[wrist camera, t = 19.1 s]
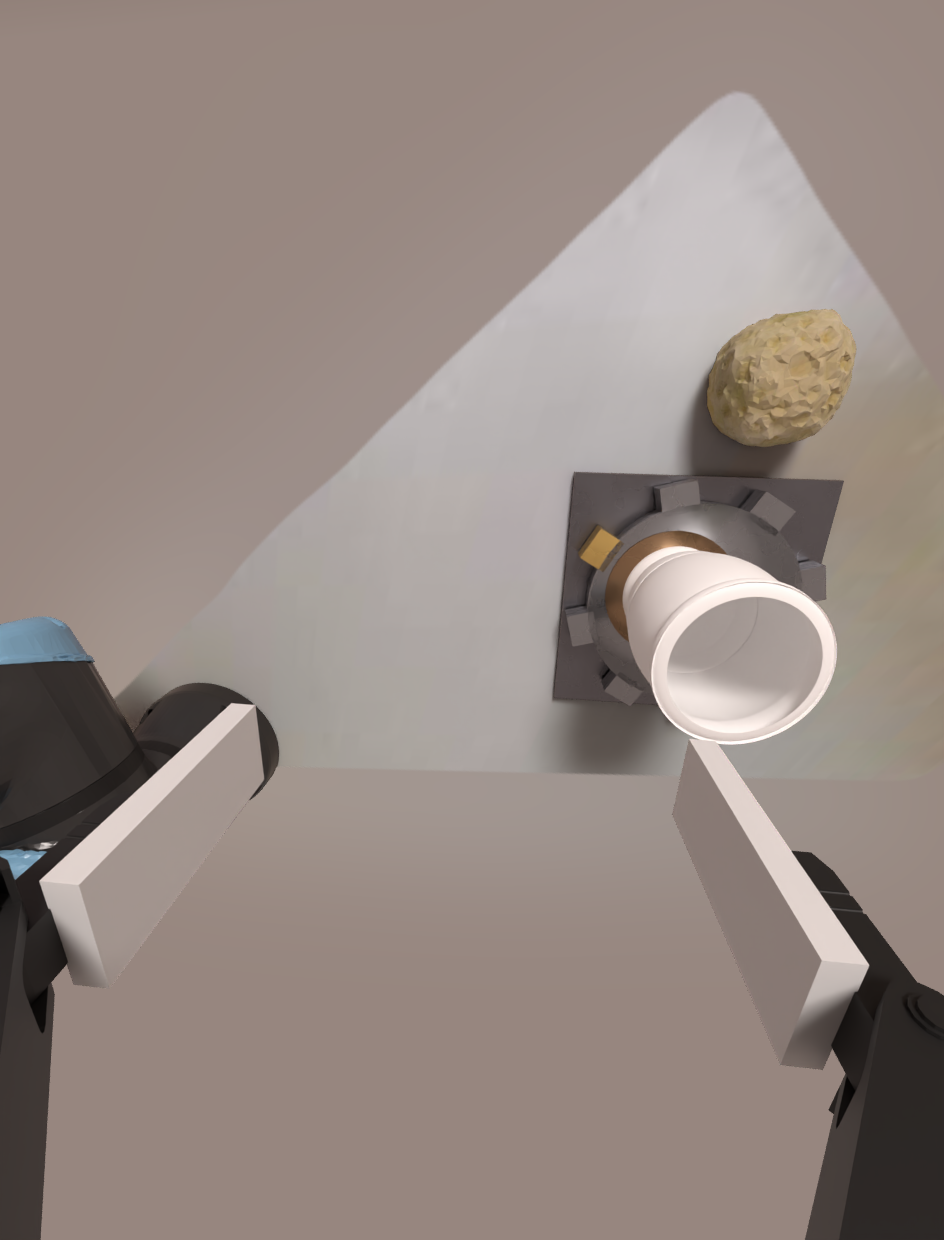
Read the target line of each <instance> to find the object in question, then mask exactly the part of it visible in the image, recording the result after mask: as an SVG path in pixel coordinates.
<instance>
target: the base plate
mask: <svg viewBox="0 0 944 1240" xmlns="http://www.w3.org/2000/svg"><path fill="white" fill-rule="evenodd" d="M686 479H694V480H698V485H699V495H700V501H707V502H717V503H721V504H726V505H730V506H733V507H737V508H741V507H742V505H743V504H744V503H745V502H746V500H747V499H748V498H749V497H750V496H751V494H752V493H753V492H754V491H755V489H757V490H762V491H767V492H768V493H770V494H771V495H773V496H774V497H776V498H777V499H778V500H780V501H781V502H783V503H784V504H786V505H787V506H789V507H790V508H792V509H793V510H795V511H796V512H795V513H794V514H793V516H792V517H791V518H790V519H789V520H788V521H787V523H786V524H785V525H784V526H783V527H782V529H781V530H780V531H779V533H780V534H781V535H782V536H783V537H784V538H785V539H786V541H787V542H788V544H789V545H790V547H791V548H792V550H793V552H794V554H795V556H796V559H797V561H798V563H801V562H806V561H811V560H813V561H815V562H818V563H820V564H821V563H822V559H823V556H824V552H825V548H826V545H827V541H828V537H829V534H830V530H831V526H832V523H833V519H834V515H835V512H836V508H837V504H838V501H839V497H840V493H841V490H842V486H843V482H844V481H840V480H815V479H783V478H751V477H720V476H688V475H656V474H624V473H592V472H574V481H573V492H572V503H571V514H570V525H569V535H568V546H567V557H566V568H565V579H564V590H563V601H562V612H561V622H560V633H559V644H558V655H557V666H556V677H555V688H554V698H565V699H580V700H595V701H610V702H622V701H620V700H619V699H617V698H615V697H614V696H612V695H610V694H609V693H607V692H605V691H604V689H603V686H602V683H601V681H602V679H603V678H604V677H605V676H606V674H607V673H608V672H609V671H610V668H609V667H608V666H607V665H606V664H605V662H604V661H603V660H602V658H601V656H600V655H599V653H598V651H597V649H596V647H595V645H594V643H589V644H584V645H578V646H572V642H571V638H570V633H569V628H568V623H567V618H566V613H565V610H566V609H571V608H576V607H581V606H586V593H587V587H588V583H589V580H590V577H591V573H592V571H593V569H594V566H592V565H591V564H589V563H587V562H586V561H584V560H583V559H581V558H580V556H579V554H578V552H579V551H580V549H581V548H582V547H583V545H584V544H585V542H586V541H587V539H588V538H589V537H590V535H591V534H592V532H593V531H594V529H595V528H596V527H597V525H599V526H600V527H602V528H603V529H605V530H607V531H608V532H610V533H611V534H613V535H614V536H617V535H618V534H619V533H620V532H621V531H622V530H623V529H624V528H626V527H627V526H628V525H630V524H631V523H632V522H634V521H635V520H637V519H639V518H640V517H642V516H644V515H646V514H648V513H650V512H652V511H655V510H656V502H655V494H654V487H656V486H661V485H665V484H669V483H674V482H678V481H682V480H686ZM633 703H639V704H654V705H658V703H657V701H656V699H655V696H654V695H651V694H649V693H646V692H642V693H641V694H640V695H639V697H638V698H637V699H636V700H635V701H634V702H633Z"/></svg>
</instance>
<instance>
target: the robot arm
mask: <svg viewBox="0 0 944 1240" xmlns="http://www.w3.org/2000/svg"><path fill="white" fill-rule="evenodd" d="M93 662H95V661H94V659H93V658H92V657H91V656H89V655H87V654H86V652H85V651H84V649H83V647H82V646H81V644H80V643H79V641H78V640H77V638H76V637H75V635H74V634H73V632H72V631H71V629H70V628H69V627H68V626H67V625H66V624H65V623H63V622H62V621H60V620H58V619H55V618H51V617H33V618H28V619H23V620H18V621H13V622H9V623H4V624H0V1240H40V1238H41V1220H42V1203H43V1186H44V1169H45V1151H46V1134H47V1116H48V1098H49V1082H50V1063H51V1047H52V1029H53V1012H54V995H55V994H54V990H53V987H52V983H51V982H52V981H53V980H54V978H55V977H56V976H57V975H58V974H59V973H60V971H61V970H62V969H63V968H64V967H65V966H66V964H67V966H68V969H69V972H70V975H71V978H72V981H73V984H74V985H82V986H91V987H100V988H110V987H111V986H112V985H113V983H114V982H115V980H116V979H117V978H118V977H119V975H120V974H121V973H122V971H123V970H124V968H125V967H126V966H127V964H128V963H129V961H130V960H131V959H132V958H133V956H134V955H135V954H136V952H137V951H138V949H139V948H140V947H141V945H142V944H143V943H144V941H145V940H146V939H147V937H148V936H149V935H150V933H151V932H152V931H153V929H154V928H155V926H156V925H157V924H158V922H159V921H160V920H161V918H162V917H163V916H164V914H165V913H166V912H167V910H168V909H169V907H170V906H171V905H172V903H173V902H174V901H175V899H176V898H177V897H178V895H179V894H180V892H181V891H182V890H183V888H184V887H185V886H186V885H187V883H188V882H189V880H190V879H191V878H192V876H193V875H194V874H195V872H196V871H197V870H198V868H199V867H200V866H201V864H202V863H203V861H204V860H205V859H206V857H207V856H208V855H209V853H210V852H211V851H212V849H213V848H214V847H215V845H216V844H217V843H218V841H219V840H220V838H221V837H222V836H223V834H224V833H225V832H226V830H227V829H228V828H229V826H230V825H231V824H232V822H233V821H234V820H235V818H236V817H237V815H238V814H239V813H240V811H241V810H242V809H243V807H244V806H245V805H246V803H247V802H248V801H249V800H251V799H252V798H253V797H255V796H256V795H257V794H258V793H259V792H260V791H261V790H262V789H263V787H264V786H265V785H266V783H267V782H268V780H269V779H270V778H271V777H272V775H273V773H274V771H275V769H276V766H277V763H278V755H279V751H278V743H277V739H276V736H275V733H274V731H273V729H272V727H271V725H270V723H269V721H268V720H267V718H266V717H265V716H264V715H263V713H262V712H261V711H260V710H259V709H258V708H257V707H256V706H255V705H254V704H253V703H252V702H250V701H249V700H248V699H246V698H245V697H243V696H242V695H240V694H238V693H236V692H235V691H232V690H230V689H228V688H225V687H222V686H218V685H214V684H208V683H192V684H186V685H182V686H179V687H177V688H175V689H173V690H171V691H170V692H168V693H167V694H165V695H164V696H163V697H161V698H160V699H158V700H157V701H156V702H155V703H154V704H152V705H151V706H150V708H149V709H148V710H147V711H146V713H145V714H144V716H143V718H142V719H141V721H140V724H139V726H138V727H137V728H136V729H135V731H134V732H132V731H131V729H130V727H129V725H128V724H127V722H126V720H125V718H124V717H123V715H122V713H121V711H120V710H119V708H118V706H117V704H116V703H115V701H114V699H113V697H112V696H111V694H110V692H109V690H108V689H107V687H106V685H105V683H104V682H103V680H102V678H101V676H100V675H99V673H98V671H97V669H96V668H95V666H94V664H93ZM672 815H673V817H674V820H675V822H676V825H677V827H678V829H679V832H680V834H681V836H682V838H683V841H684V843H685V845H686V848H687V850H688V852H689V855H690V857H691V859H692V862H693V864H694V866H695V869H696V871H697V873H698V876H699V878H700V880H701V882H702V885H703V887H704V889H705V892H706V894H707V896H708V899H709V901H710V903H711V906H712V908H713V910H714V913H715V915H716V917H717V919H718V922H719V924H720V926H721V929H722V931H723V933H724V936H725V938H726V940H727V943H728V945H729V947H730V949H731V952H732V954H733V956H734V959H735V961H736V964H737V966H738V968H739V970H740V973H741V975H742V977H743V980H744V982H745V984H746V987H747V989H748V991H749V993H750V996H751V998H752V1000H753V1003H754V1005H755V1007H756V1010H757V1012H758V1014H759V1016H760V1019H761V1021H762V1024H763V1026H764V1028H765V1031H766V1033H767V1035H768V1038H769V1040H770V1042H771V1044H772V1047H773V1049H774V1051H775V1054H776V1056H777V1058H778V1061H779V1063H780V1065H786V1066H794V1067H803V1068H812V1069H821V1070H823V1068H824V1066H825V1064H826V1061H827V1059H828V1057H829V1055H830V1052H831V1050H832V1049H833V1050H834V1052H835V1054H836V1056H837V1058H838V1060H839V1062H840V1064H841V1066H842V1067H843V1069H844V1071H845V1073H846V1074H845V1076H844V1078H843V1081H842V1083H841V1085H840V1087H839V1089H838V1091H837V1093H836V1095H835V1097H834V1100H833V1102H832V1104H831V1106H830V1108H829V1111H830V1112H832V1113H833V1114H834V1116H833V1120H832V1125H831V1129H830V1133H829V1138H828V1142H827V1146H826V1151H825V1155H824V1160H823V1164H822V1168H821V1173H820V1177H819V1181H818V1186H817V1190H816V1195H815V1199H814V1203H813V1207H812V1212H811V1216H810V1220H809V1225H808V1229H807V1234H806V1238H805V1240H944V996H943V995H942V994H940V993H939V992H938V991H935V990H933V989H931V988H929V987H927V986H925V985H922V984H920V983H917V981H916V980H915V979H914V978H913V976H912V975H911V974H910V972H909V971H908V970H907V968H906V967H905V966H904V964H903V963H902V962H901V961H900V959H899V958H898V956H897V955H896V954H895V952H894V951H893V950H892V948H891V947H890V946H889V944H888V943H887V942H886V940H885V939H884V938H883V936H882V935H881V934H880V932H879V931H878V930H877V928H876V927H875V926H874V924H873V923H872V922H871V921H870V919H869V918H868V916H867V915H866V914H863V912H862V908H861V907H860V906H859V904H858V903H857V902H856V900H855V899H854V898H853V897H852V896H850V895H849V891H848V890H847V889H846V887H845V886H844V884H843V883H842V882H841V881H840V879H839V878H838V876H837V875H836V874H835V872H834V871H833V870H831V869H830V868H829V867H828V866H826V865H825V864H824V863H823V862H822V861H821V860H819V859H818V858H817V857H816V856H815V855H813V854H812V853H809V852H799V851H791V850H790V849H789V847H788V846H787V844H786V843H785V841H784V840H783V839H782V837H781V836H780V834H779V833H778V831H777V830H776V828H775V827H774V825H773V824H772V822H771V821H770V820H769V818H768V817H767V815H766V814H765V812H764V811H763V809H762V808H761V807H760V805H759V804H758V802H757V801H756V799H755V798H754V796H753V795H752V793H751V792H750V790H749V789H748V787H747V786H746V784H745V783H744V782H743V780H742V779H741V777H740V776H739V774H738V773H737V771H736V770H735V768H734V767H733V765H732V764H731V763H730V761H729V760H728V758H727V757H726V755H725V754H724V752H723V751H722V749H721V748H720V747H719V745H718V744H717V742H716V741H709V740H696V739H689V742H688V746H687V751H686V755H685V760H684V764H683V769H682V773H681V777H680V782H679V786H678V792H677V795H676V801H675V805H674V809H673V813H672Z"/></svg>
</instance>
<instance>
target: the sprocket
mask: <svg viewBox="0 0 944 1240" xmlns="http://www.w3.org/2000/svg"><path fill="white" fill-rule="evenodd" d="M654 494H655V502H656V510H655V511H652V512H650V513H648V514H646V515H644V516H642V517H640V518H639V519H637V520H635V521H634V522H632V523H631V524H630V525H628V526H627V527H626V528H624V529H623V530H622V531H621V532H620V533H619V534H618V535H617V536H614V535H613V534H611V533H610V532H608V531H607V530H605V529H603V528H602V527H600V526H599V525H597V527H596V528H595V529H594V531H593V532H592V534H591V535H590V537H589V538H588V539H587V541H586V542H585V544H584V545H583V547H582V548H581V549H580V551H579V552H578V554H579V556H580V558H581V559H583V560H584V561H586V562H587V563H589V564H591V565H592V566H594V569H593V571H592V573H591V577H590V580H589V583H588V587H587V593H586V606H581V607H576V608H571V609H566V610H565V613H566V618H567V623H568V628H569V633H570V638H571V642H572V646H578V645H584V644H589V643H594V645H595V647H596V649H597V651H598V653H599V655H600V656H601V658H602V660H603V661H604V662H605V664H606V665H607V666H608V667H609V668H610V671H609V672H608V673H607V674H606V676H605V677H604V678H603V679H602V681H601V683H602V686H603V689H604V691H605V692H607V693H609V694H610V695H612V696H614V697H615V698H617V699H619V700H620V701H622V702H624V703H625V704H627V705H629V706H631V705H632V704H633V702H634V701H635V700H636V699H637V698H638V697H639V695H640V694H641V693H642V692H646V693H649V694H651V695H654V694H653V691H652V688H651V685H650V683H649V682H648V681H647V680H646V678H645V677H644V675H643V674H642V672H641V670H640V669H639V667H638V665H637V663H636V661H635V659H634V656H633V653H632V650H631V647H630V643H629V638H628V628H627V621H626V615H625V612H624V608H623V590H624V586H625V583H626V580H627V578H628V576H629V575H630V573H631V571H632V570H633V569H634V567H635V566H636V565H637V564H638V563H639V562H640V561H641V560H642V559H644V558H645V557H646V556H648V555H650V554H651V553H653V552H655V551H658V550H660V549H663V548H668V547H674V546H683V547H690V548H693V549H696V550H699V551H705V552H711V553H719V554H725V555H729V556H733V557H736V558H740V559H742V560H745V561H747V562H749V563H752V564H754V565H756V566H757V567H759V568H761V569H762V570H764V571H766V572H767V573H768V574H770V575H771V576H772V577H774V578H775V579H776V580H777V581H779V582H782V583H785V584H788V585H791V586H793V587H795V588H797V589H798V590H800V591H802V592H803V593H805V594H806V595H807V596H809V597H810V598H811V599H812V600H813V601H820V600H825V599H826V566H825V565H823V564H820V563H818V562H815V561H813V560H811V561H806V562H801V563H798V561H797V559H796V556H795V554H794V552H793V550H792V548H791V547H790V545H789V544H788V542H787V541H786V539H785V538H784V537H783V536H782V535H781V534H780V533H779V531H780V530H781V529H782V527H783V526H784V525H785V524H786V523H787V521H788V520H789V519H790V518H791V517H792V516H793V514H794V513H795V512H796V511H795V510H793V509H792V508H790V507H789V506H787V505H786V504H784V503H783V502H781V501H780V500H778V499H777V498H776V497H774V496H773V495H771V494H770V493H768V492H767V491H762V490H757V489H755V491H754V492H753V493H752V494H751V496H750V497H749V498H748V499H747V500H746V502H745V503H744V504H743V505H742V507H741V508H737V507H733V506H730V505H726V504H721V503H717V502H707V501H700V495H699V485H698V480H694V479H686V480H682V481H678V482H674V483H669V484H665V485H661V486H656V487H654Z"/></svg>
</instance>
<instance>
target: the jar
mask: <svg viewBox="0 0 944 1240" xmlns="http://www.w3.org/2000/svg"><path fill="white" fill-rule="evenodd" d="M623 608H624V612H625V615H626V621H627V628H628V638H629V643H630V647H631V650H632V653H633V656H634V659H635V661H636V663H637V665H638V667H639V669H640V670H641V672H642V674H643V675H644V677H645V678H646V680H647V681H648V682H649V683H650V685H651V688H652V691H653V694H654V696H655V699H656V701H657V703H658V705H659V707H660V709H661V710H662V712H663V713H664V714H665V716H666V717H667V718H668V719H669V720H670V721H671V722H672V723H673V724H674V725H675V726H676V727H678V728H679V729H680V730H682V731H683V732H685V733H687V734H689V735H691V736H693V737H695V738H698V739H700V740H709V741H716V742H717V743H718V744H743V743H750V742H755V741H759V740H762V739H765V738H768V737H771V736H773V735H776V734H778V733H780V732H782V731H784V730H786V729H787V728H789V727H791V726H792V725H794V724H795V723H797V722H798V721H799V720H801V719H802V718H803V717H804V716H805V715H806V714H808V713H809V712H810V711H811V710H812V709H813V707H814V706H815V705H816V704H817V703H818V701H819V700H820V699H821V697H822V696H823V694H824V693H825V691H826V689H827V688H828V686H829V684H830V681H831V679H832V676H833V673H834V670H835V665H836V659H837V643H836V637H835V633H834V630H833V627H832V625H831V622H830V620H829V619H828V617H827V615H826V614H825V612H824V611H823V610H822V609H821V607H820V606H819V605H818V604H817V603H816V602H815V601H813V600H812V599H811V598H810V597H809V596H807V595H806V594H805V593H803V592H802V591H800V590H798V589H797V588H795V587H793V586H791V585H788V584H785V583H782V582H779V581H777V580H776V579H775V578H774V577H772V576H771V575H770V574H768V573H767V572H766V571H764V570H762V569H761V568H759V567H757V566H756V565H754V564H752V563H749V562H747V561H745V560H742V559H740V558H736V557H733V556H729V555H725V554H719V553H711V552H705V551H699V550H696V549H693V548H690V547H683V546H674V547H668V548H663V549H660V550H658V551H655V552H653V553H651V554H650V555H648V556H646V557H645V558H644V559H642V560H641V561H640V562H639V563H638V564H637V565H636V566H635V567H634V569H633V570H632V571H631V573H630V575H629V576H628V578H627V580H626V583H625V586H624V590H623Z"/></svg>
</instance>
